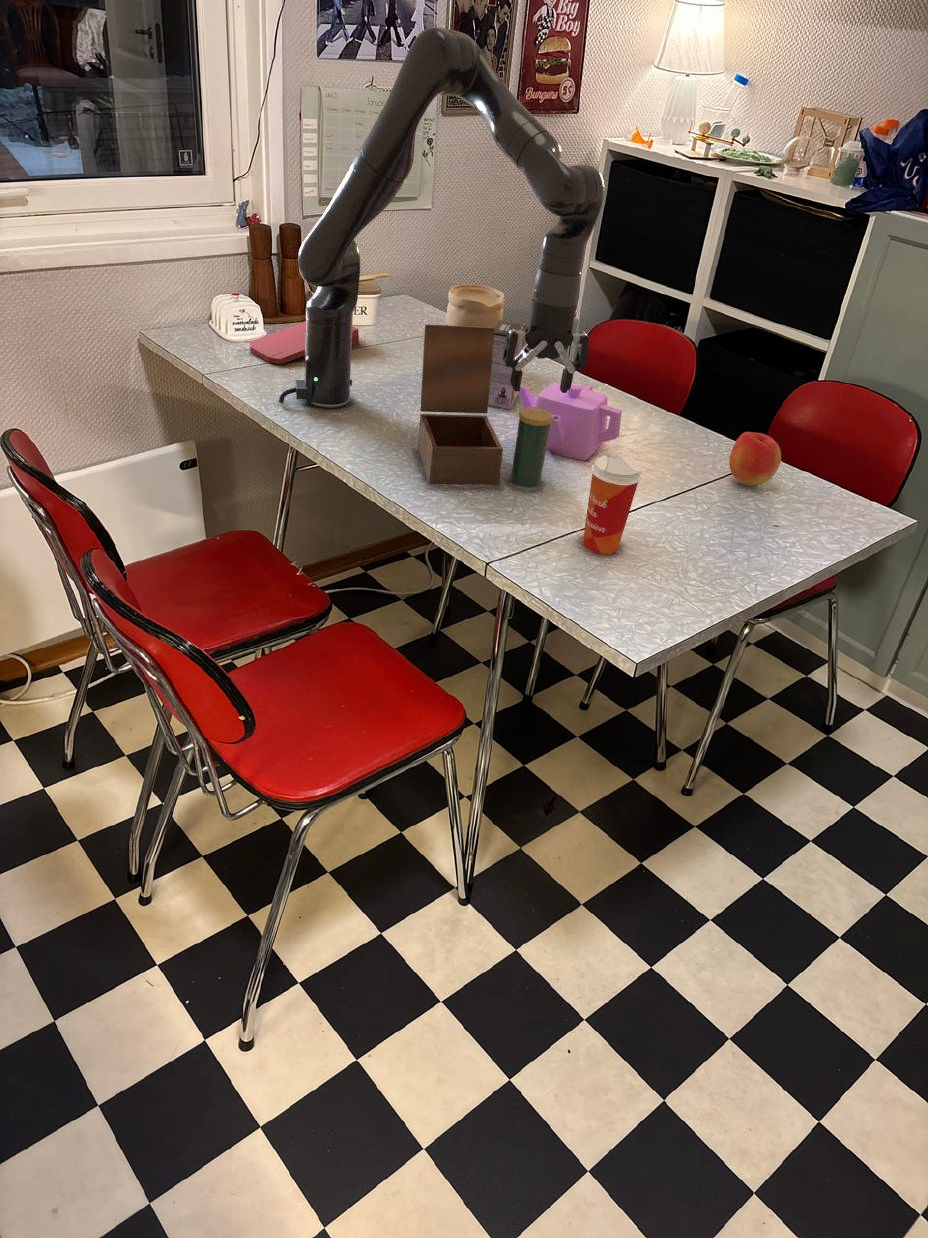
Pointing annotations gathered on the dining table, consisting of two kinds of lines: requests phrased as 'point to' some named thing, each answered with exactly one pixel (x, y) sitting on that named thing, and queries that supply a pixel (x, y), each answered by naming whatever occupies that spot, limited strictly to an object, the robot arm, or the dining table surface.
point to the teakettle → (575, 418)
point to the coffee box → (503, 366)
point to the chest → (459, 449)
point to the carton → (287, 344)
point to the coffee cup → (609, 502)
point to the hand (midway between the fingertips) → (539, 390)
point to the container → (474, 306)
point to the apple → (754, 458)
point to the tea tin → (530, 446)
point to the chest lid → (456, 368)
